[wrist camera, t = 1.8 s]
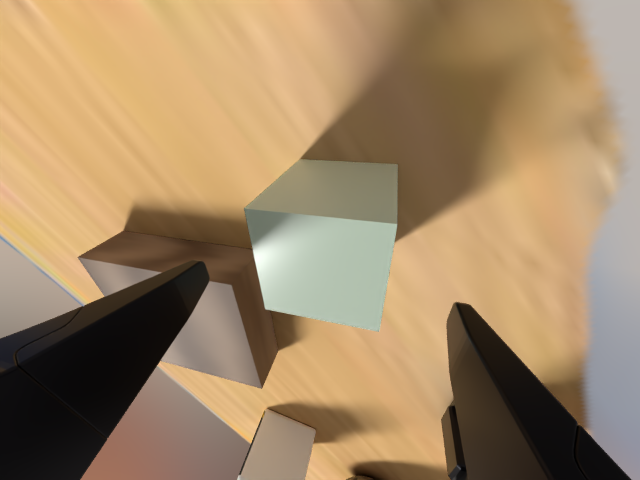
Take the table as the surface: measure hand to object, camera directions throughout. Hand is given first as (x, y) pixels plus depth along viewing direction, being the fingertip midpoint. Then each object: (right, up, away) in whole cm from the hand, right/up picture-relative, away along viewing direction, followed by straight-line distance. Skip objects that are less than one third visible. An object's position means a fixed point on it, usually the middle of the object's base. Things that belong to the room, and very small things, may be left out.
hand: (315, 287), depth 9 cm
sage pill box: (+2, +4, +5) cm, 7 cm away
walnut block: (-10, -3, +14) cm, 17 cm away
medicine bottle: (-4, -24, +26) cm, 35 cm away
